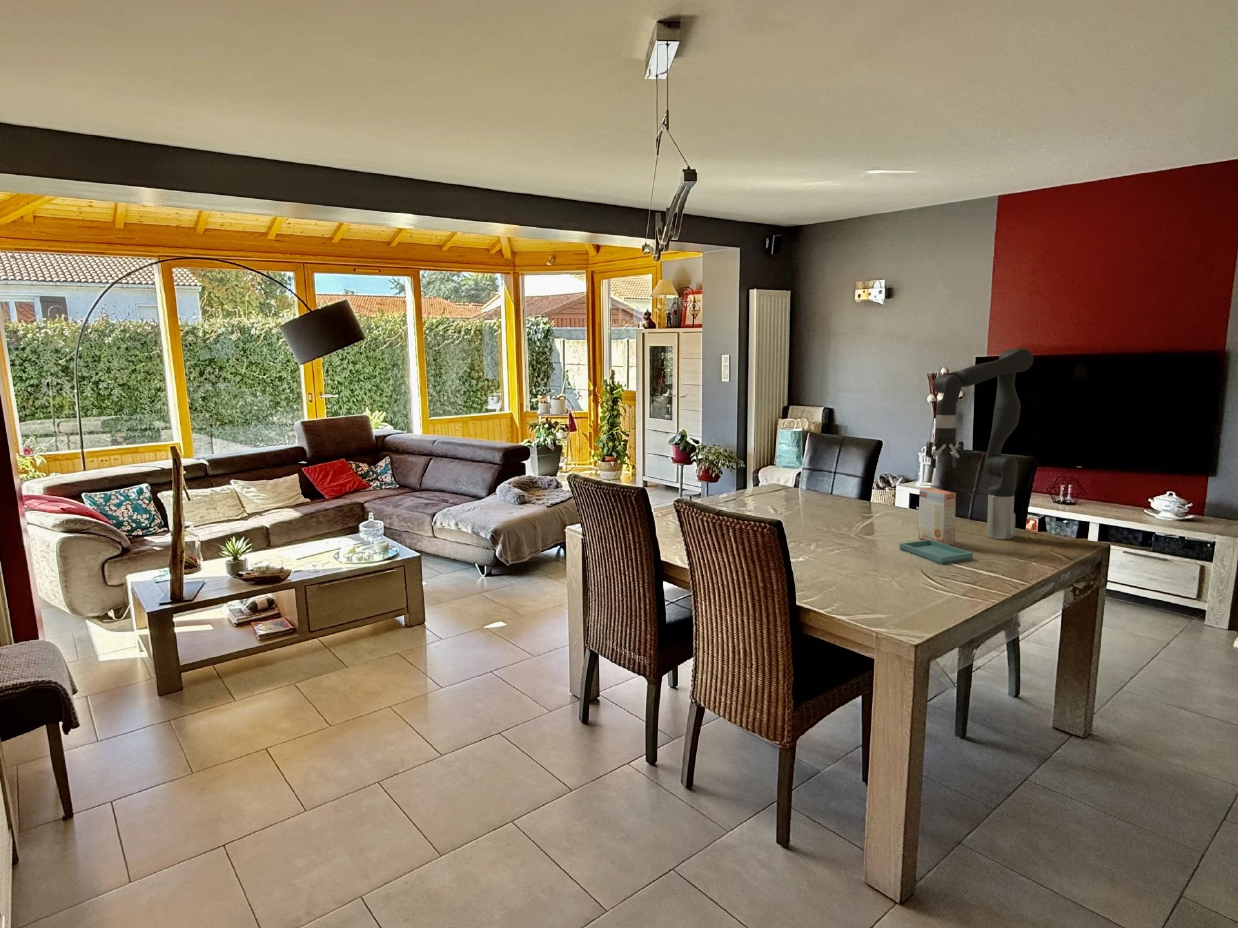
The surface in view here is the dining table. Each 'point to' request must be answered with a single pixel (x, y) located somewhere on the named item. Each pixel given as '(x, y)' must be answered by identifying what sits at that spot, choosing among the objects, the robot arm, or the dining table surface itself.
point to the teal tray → (936, 551)
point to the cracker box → (937, 515)
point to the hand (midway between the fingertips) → (944, 467)
